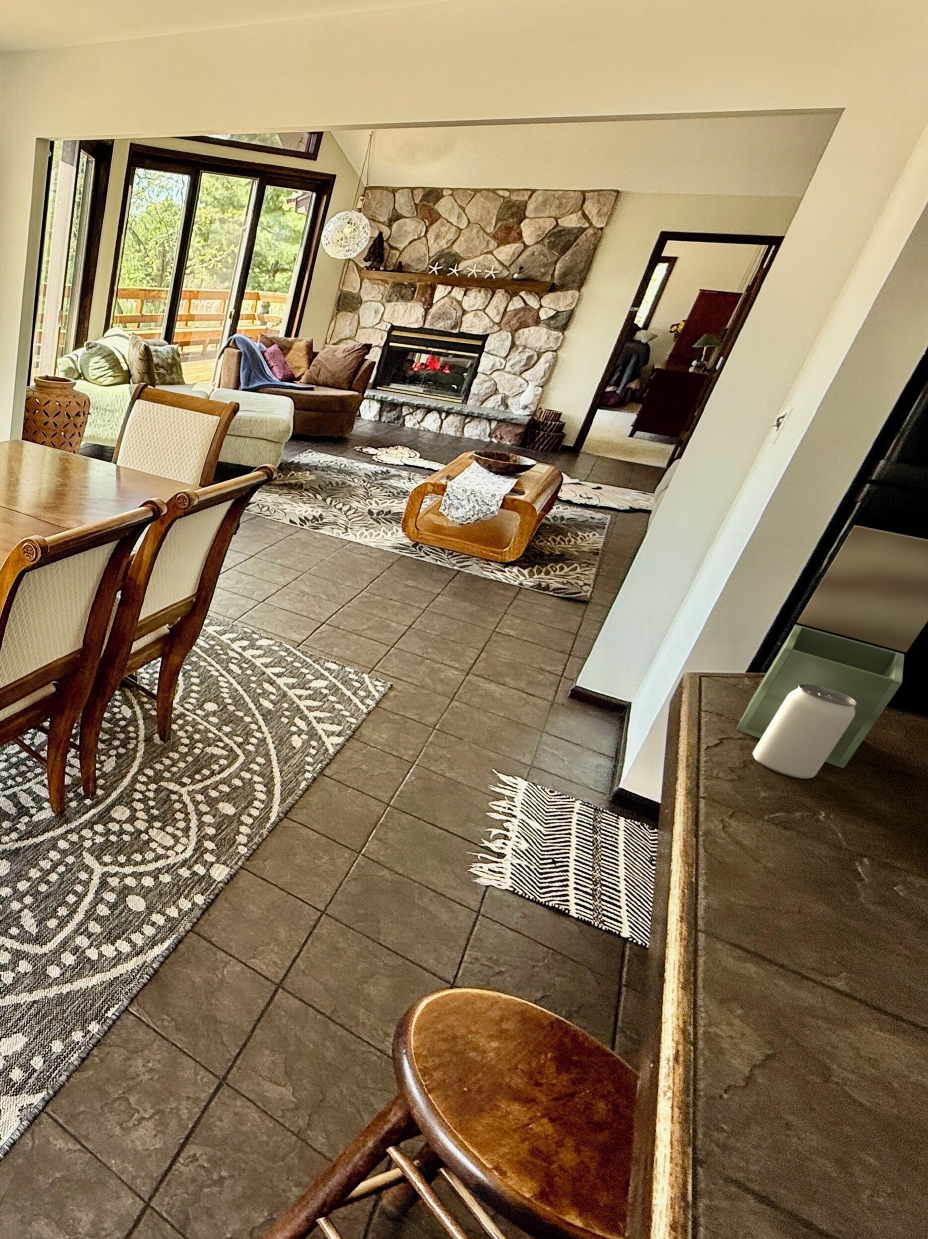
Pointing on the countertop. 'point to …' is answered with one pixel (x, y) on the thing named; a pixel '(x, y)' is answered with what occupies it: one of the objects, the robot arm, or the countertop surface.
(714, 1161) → the countertop surface
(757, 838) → the countertop surface
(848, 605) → the lid
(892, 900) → the countertop surface
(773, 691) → the chest
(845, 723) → the can
